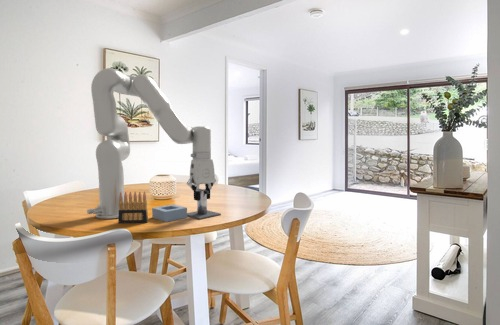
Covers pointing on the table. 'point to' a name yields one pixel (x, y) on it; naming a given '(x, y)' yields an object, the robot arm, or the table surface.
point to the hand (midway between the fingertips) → (202, 199)
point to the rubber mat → (197, 216)
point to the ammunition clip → (132, 209)
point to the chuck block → (169, 213)
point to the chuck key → (202, 202)
